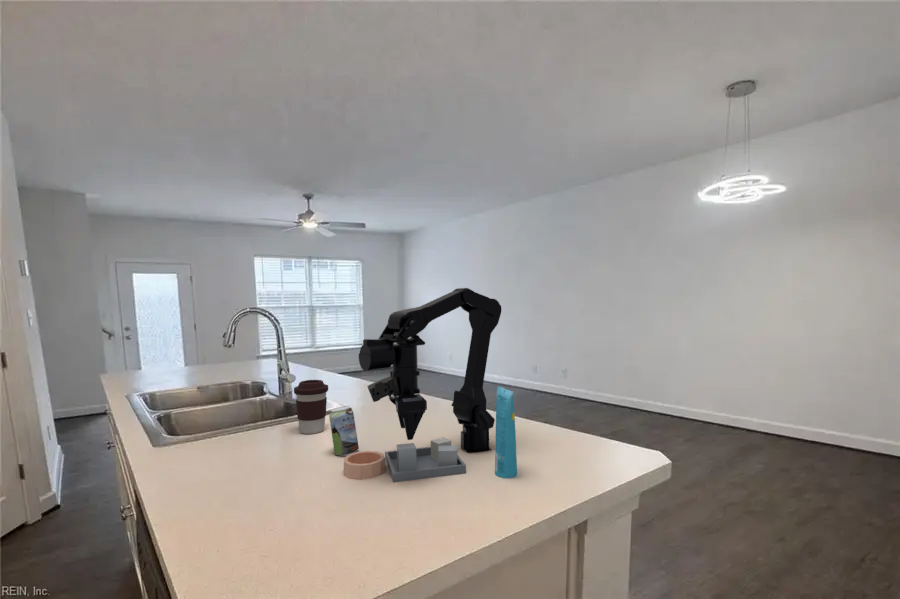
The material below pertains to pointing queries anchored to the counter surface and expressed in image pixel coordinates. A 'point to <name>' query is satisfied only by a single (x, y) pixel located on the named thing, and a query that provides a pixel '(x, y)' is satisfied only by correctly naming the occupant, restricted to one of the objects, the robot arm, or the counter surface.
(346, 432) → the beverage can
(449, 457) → the stone
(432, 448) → the stone
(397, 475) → the tray
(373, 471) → the bowl
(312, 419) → the coffee cup
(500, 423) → the tube
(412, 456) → the stone
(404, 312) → the robot arm
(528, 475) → the counter surface
